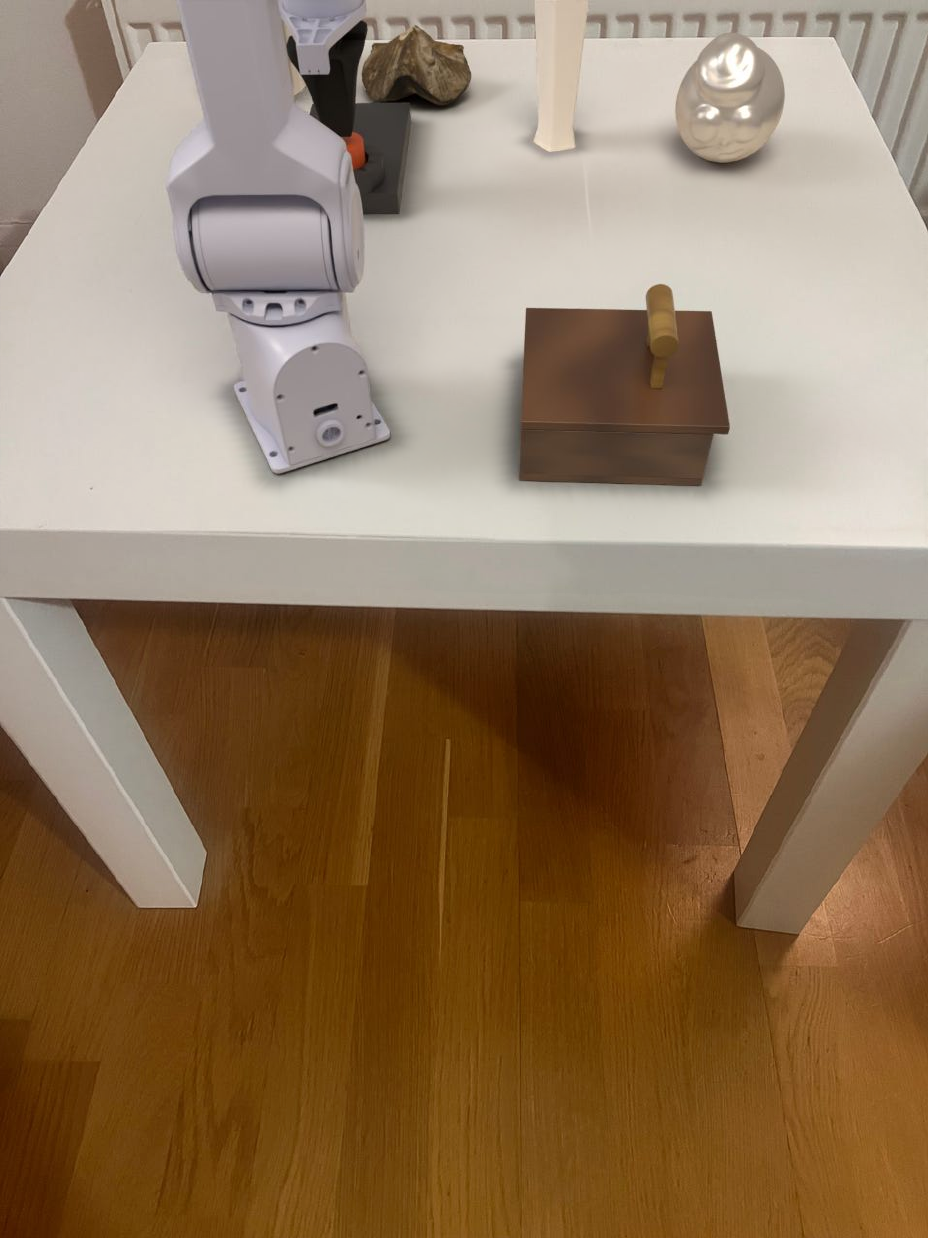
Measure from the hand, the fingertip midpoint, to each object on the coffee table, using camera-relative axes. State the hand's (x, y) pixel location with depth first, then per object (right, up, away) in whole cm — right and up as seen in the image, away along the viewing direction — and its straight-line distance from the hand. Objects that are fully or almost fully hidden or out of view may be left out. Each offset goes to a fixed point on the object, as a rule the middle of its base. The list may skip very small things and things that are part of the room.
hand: (339, 132), depth 75 cm
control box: (0, +1, +8) cm, 8 cm away
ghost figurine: (+32, +1, +7) cm, 33 cm away
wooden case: (+19, -26, -13) cm, 35 cm away
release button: (0, -1, +2) cm, 2 cm away
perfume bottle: (+18, +4, +10) cm, 21 cm away
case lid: (+20, -23, -17) cm, 35 cm away
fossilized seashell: (+5, +11, +16) cm, 20 cm away
